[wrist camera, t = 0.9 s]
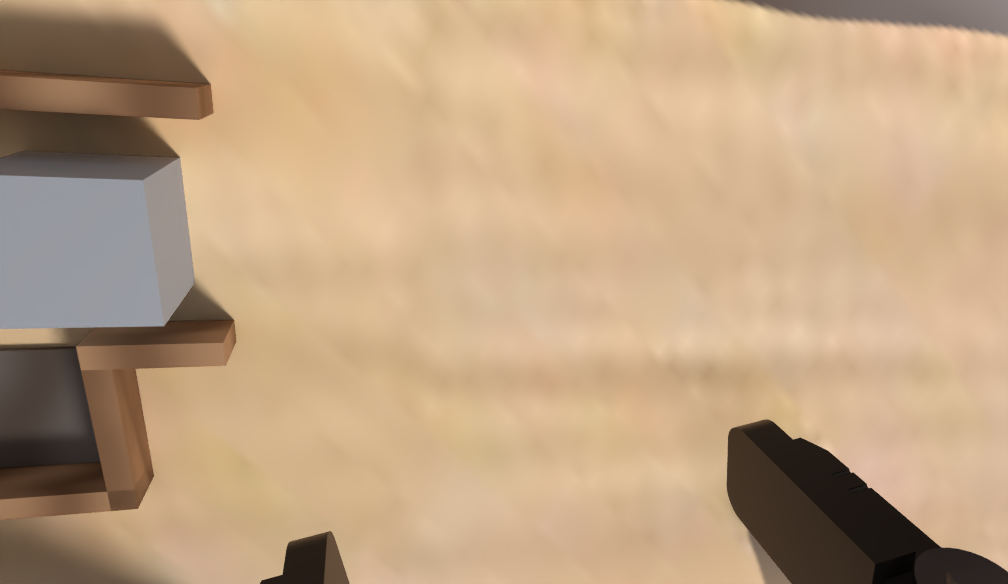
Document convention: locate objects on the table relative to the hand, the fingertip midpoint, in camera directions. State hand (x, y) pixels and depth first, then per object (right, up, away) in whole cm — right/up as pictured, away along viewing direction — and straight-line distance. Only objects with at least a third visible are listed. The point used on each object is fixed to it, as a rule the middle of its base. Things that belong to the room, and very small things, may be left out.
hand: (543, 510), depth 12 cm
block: (-18, +8, +15) cm, 25 cm away
